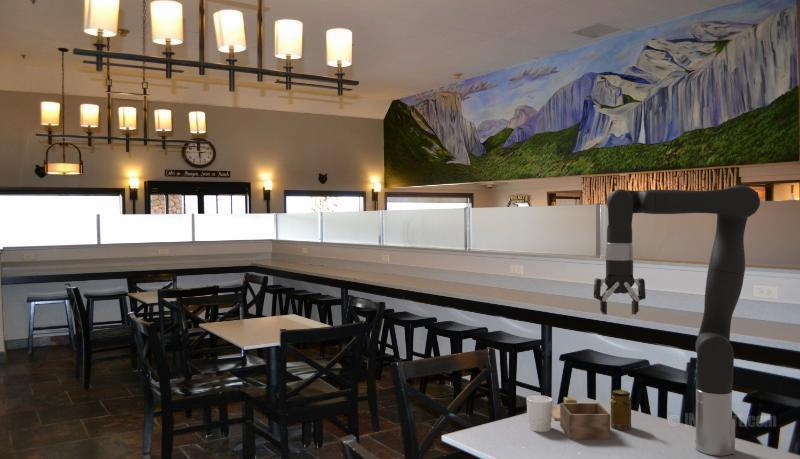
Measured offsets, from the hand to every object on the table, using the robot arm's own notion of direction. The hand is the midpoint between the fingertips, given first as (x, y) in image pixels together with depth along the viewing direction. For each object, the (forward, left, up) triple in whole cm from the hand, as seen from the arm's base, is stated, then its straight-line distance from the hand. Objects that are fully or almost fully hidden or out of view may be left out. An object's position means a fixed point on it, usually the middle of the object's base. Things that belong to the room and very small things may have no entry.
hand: (619, 314), depth 189 cm
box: (+8, -8, -38) cm, 40 cm away
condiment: (-5, -12, -38) cm, 41 cm away
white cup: (+21, -12, -38) cm, 45 cm away
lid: (+8, -26, -38) cm, 46 cm away
